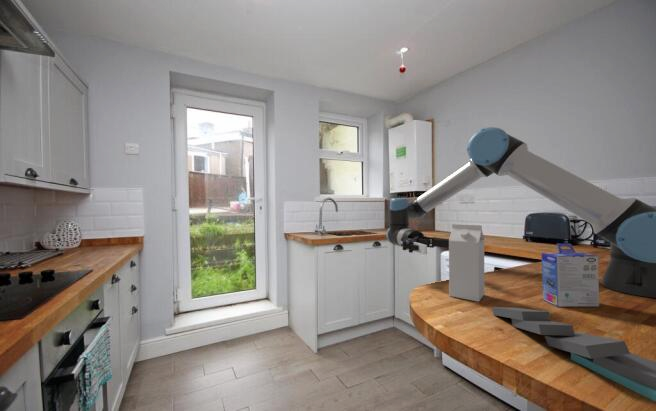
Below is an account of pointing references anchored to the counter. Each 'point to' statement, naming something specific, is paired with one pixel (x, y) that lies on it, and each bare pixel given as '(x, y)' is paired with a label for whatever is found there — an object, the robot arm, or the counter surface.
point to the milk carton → (466, 262)
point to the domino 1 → (521, 314)
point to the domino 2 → (545, 327)
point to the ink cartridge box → (570, 278)
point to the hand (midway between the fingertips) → (446, 248)
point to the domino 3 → (588, 345)
